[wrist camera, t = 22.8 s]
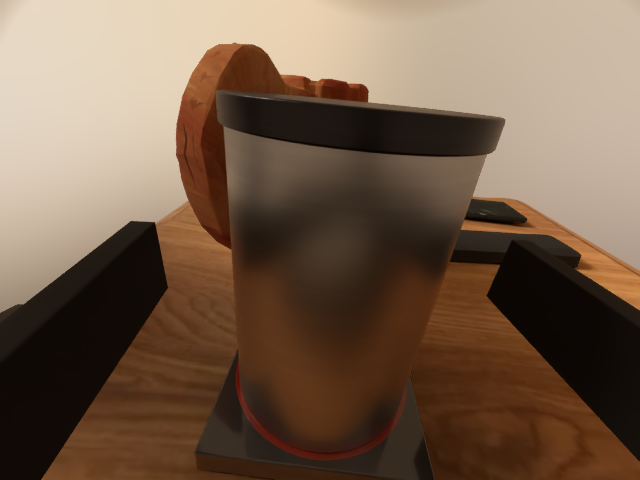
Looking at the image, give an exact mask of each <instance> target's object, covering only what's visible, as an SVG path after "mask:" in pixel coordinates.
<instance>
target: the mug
mask: <svg viewBox="0 0 640 480" xmlns="http://www.w3.org/2000/svg"><path fill="white" fill-rule="evenodd" d="M217 90H234V91H248V92H261V93H272V94H284V95H295V96H306V97H317V98H327V99H338V100H348V101H358V102H368V92H369V91H368V89H367V88H366V86H364V85H362V84H347V82H343V81H338V80H333V79H321V80H319V81H311V80H310V79H309V78H306V77H303V76H295V75H280V74H279V72H278V71H277V69H276V67H275V65H274V64H273V62H272V61H271V59H270V57H269V56H268V54H267V53H266V52H264V50H262V49H261V48H259V47H257V46H255V45H249V44H237V43H233V44H219V45H216V46H215V47H213V48H212V49H210V50H208V51H207V52H206V53H205V55H204V56H203V58H202V59H201V61H200V62H199V64H198V65H197V67H196V68H195V70H194V72H193V73H192V75H191V77H190V79H189V82H188V84H187V87H186V89H185V91H184V94H183V96H182V101H181V106H180V111H179V116H178V121H177V128H176V146H177V149H176V156H177V159H178V161H179V166H180V173H181V179H182V182H183V185H184V188H185V191H186V195H187V197H188V200H189V202H190V204H191V206H192V208H193V211H194V213H195V215H196V217H197V218H198V220H199V222H200V224H201V225H202V227H203V228H204V229H205V230H206V231H207V232H208V233H209V234H210V235H211V236H212V237H213V238H214V239H215V240H216V241H217V242H219V243H220V244H222V245H224V246H226V247H228V248H229V249H231V234H230V218H229V203H228V188H227V173H226V157H225V142H224V127H223V125H221V124H220V123H219V122H218V120H217V108H216V95H215V92H216V91H217ZM231 250H232V249H231Z"/></svg>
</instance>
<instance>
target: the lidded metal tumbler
mask: <svg viewBox="0 0 640 480" xmlns="http://www.w3.org/2000/svg"><path fill="white" fill-rule="evenodd" d="M215 95H216V108H217V120H218V122H219V123H220V124H221V125H223V127H224V142H225V157H226V173H227V188H228V203H229V218H230V234H231V249H232V264H233V280H234V295H235V310H236V326H237V341H238V356H239V372H240V385H241V390H242V394H243V397H244V400H245V402H246V405H247V406H248V408H249V410H250V412H251V414H252V415H253V416H254V418H255V419H256V420H257V421H258V423H259V424H260V425H261V426H262V427H263V428H264V429H265V430H266V431H268V432H269V433H270V434H272V435H273V436H274V437H276V438H277V439H279V440H281V441H283V442H285V443H286V444H288V445H290V446H293V447H296V448H299V449H302V450H306V451H312V452H319V453H334V452H342V451H347V450H350V449H354V448H357V447H359V446H361V445H364V444H366V443H368V442H370V441H371V440H373V439H374V438H376V437H377V436H378V435H379V434H380V433H382V432H383V431H384V430H385V429H386V428H387V426H388V425H389V424H390V422H391V421H392V420H393V418H394V416H395V414H396V412H397V410H398V408H399V405H400V402H401V399H402V396H403V393H404V391H405V388H406V385H407V382H408V379H409V376H410V373H411V370H412V368H413V365H414V362H415V359H416V356H417V353H418V350H419V348H420V345H421V342H422V339H423V336H424V333H425V330H426V328H427V325H428V322H429V319H430V316H431V313H432V310H433V307H434V305H435V302H436V299H437V296H438V293H439V290H440V287H441V285H442V282H443V279H444V276H445V273H446V270H447V267H448V264H449V262H450V259H451V256H452V253H453V250H454V247H455V244H456V242H457V239H458V236H459V233H460V230H461V227H462V224H463V221H464V219H465V216H466V213H467V210H468V207H469V204H470V201H471V199H472V196H473V193H474V190H475V187H476V184H477V181H478V178H479V176H480V173H481V169H482V167H483V164H484V161H485V158H486V156H487V154H489V153H492V152H493V151H494V150H495V149H496V146H497V143H498V141H499V138H500V135H501V132H502V130H503V127H504V124H505V119H504V118H500V117H494V116H486V115H478V114H470V113H462V112H453V111H444V110H435V109H426V108H417V107H407V106H397V105H388V104H377V103H368V102H358V101H348V100H338V99H327V98H317V97H306V96H295V95H284V94H272V93H261V92H248V91H234V90H217V91H216V92H215Z"/></svg>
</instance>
